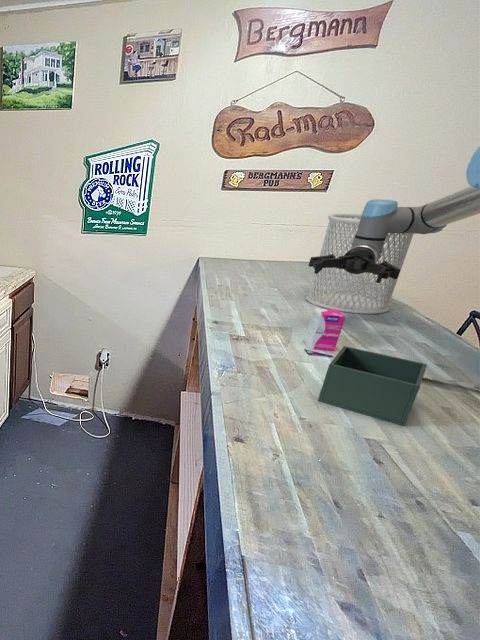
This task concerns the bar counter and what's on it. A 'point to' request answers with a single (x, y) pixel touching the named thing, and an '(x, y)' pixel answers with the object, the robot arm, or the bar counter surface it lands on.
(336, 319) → the supplement box
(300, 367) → the bar counter surface
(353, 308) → the wastebasket
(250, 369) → the bar counter surface
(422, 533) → the bar counter surface
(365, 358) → the bin
